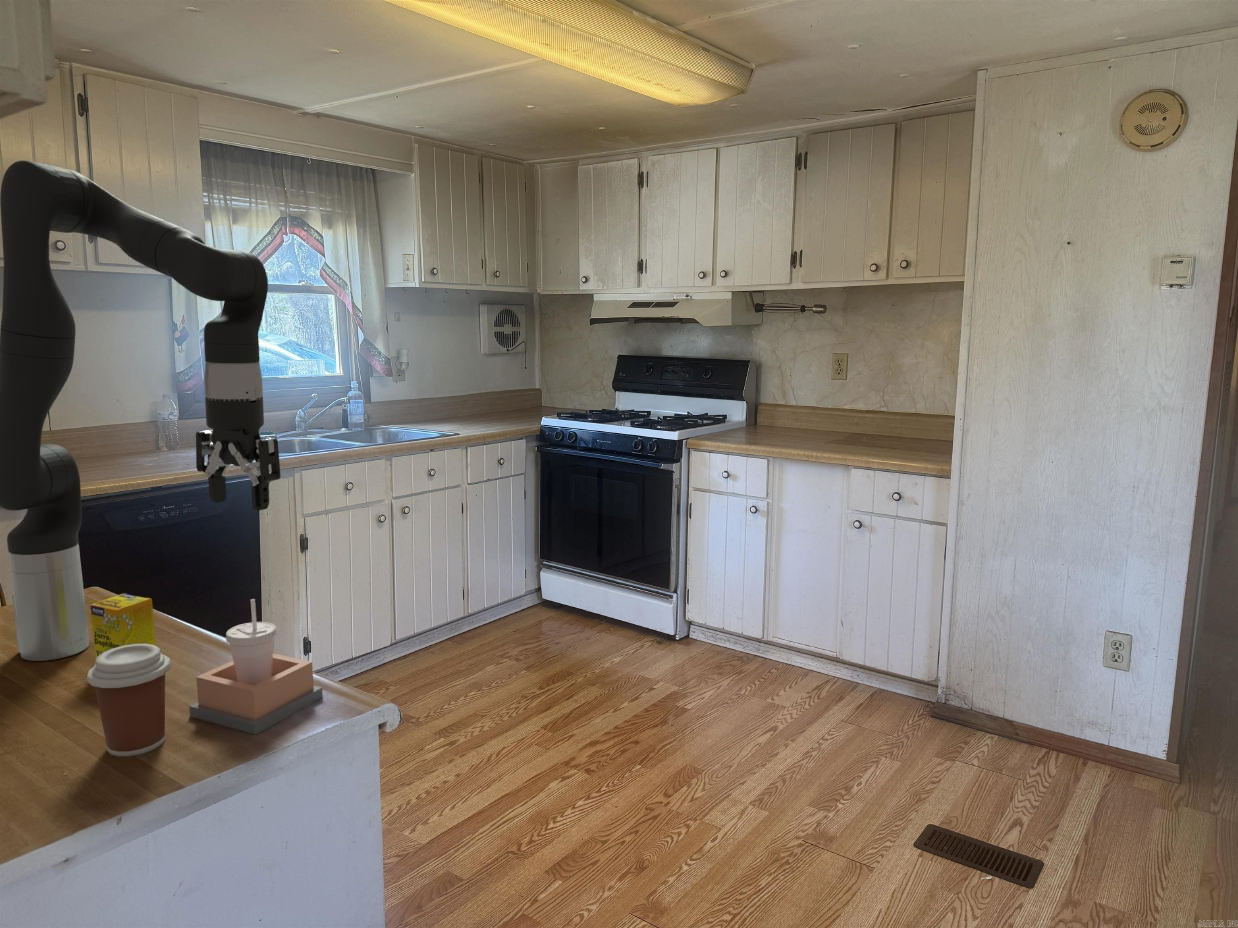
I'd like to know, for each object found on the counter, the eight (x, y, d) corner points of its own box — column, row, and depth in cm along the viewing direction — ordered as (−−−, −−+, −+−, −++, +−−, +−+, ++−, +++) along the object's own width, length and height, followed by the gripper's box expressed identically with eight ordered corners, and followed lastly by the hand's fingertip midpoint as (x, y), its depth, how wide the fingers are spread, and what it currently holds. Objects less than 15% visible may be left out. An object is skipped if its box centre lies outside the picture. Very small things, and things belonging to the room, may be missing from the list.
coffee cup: (150, 720, 114) (142, 635, 112) (192, 737, 109) (185, 649, 107) (79, 749, 106) (69, 658, 104) (121, 769, 101) (111, 674, 99)
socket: (190, 716, 115) (186, 677, 114) (260, 682, 126) (257, 646, 125) (255, 734, 110) (252, 694, 109) (322, 697, 121) (320, 660, 120)
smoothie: (262, 708, 114) (255, 608, 112) (220, 703, 115) (212, 605, 113) (290, 688, 120) (284, 593, 118) (249, 684, 122) (242, 590, 119)
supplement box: (95, 673, 128) (88, 604, 127) (131, 658, 134) (124, 592, 132) (123, 679, 126) (116, 609, 124) (158, 664, 132) (152, 597, 130)
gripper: (176, 392, 120) (182, 504, 123) (248, 400, 114) (253, 517, 117) (221, 389, 127) (226, 495, 130) (291, 396, 121) (295, 507, 124)
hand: (239, 505), depth 123 cm, fingers open, 8 cm apart
